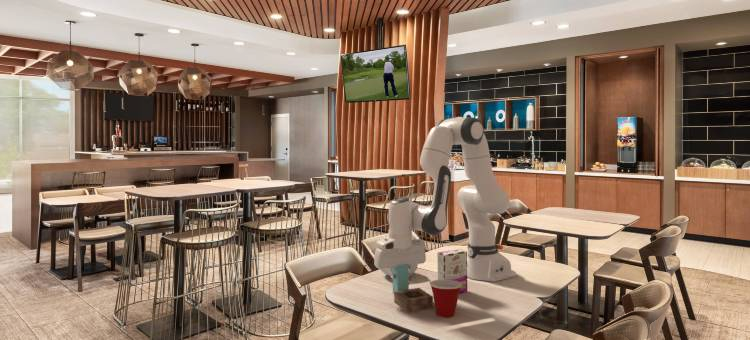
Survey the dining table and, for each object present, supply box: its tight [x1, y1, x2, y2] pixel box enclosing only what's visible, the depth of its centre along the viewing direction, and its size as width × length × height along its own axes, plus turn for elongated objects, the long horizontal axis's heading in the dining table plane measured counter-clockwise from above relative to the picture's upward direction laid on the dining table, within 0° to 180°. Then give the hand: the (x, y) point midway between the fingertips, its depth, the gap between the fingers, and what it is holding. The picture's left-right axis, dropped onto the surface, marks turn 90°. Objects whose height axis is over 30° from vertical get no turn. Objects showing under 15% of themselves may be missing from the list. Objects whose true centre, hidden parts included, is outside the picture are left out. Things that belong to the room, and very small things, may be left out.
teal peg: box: [392, 264, 410, 295], centre depth 175 cm, size 4×4×12 cm
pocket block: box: [393, 287, 434, 313], centre depth 166 cm, size 10×10×5 cm
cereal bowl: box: [380, 264, 419, 278], centre depth 202 cm, size 17×17×7 cm
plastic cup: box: [429, 279, 462, 319], centre depth 157 cm, size 11×11×12 cm
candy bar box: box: [436, 248, 468, 294], centre depth 180 cm, size 11×5×16 cm, turn 117°
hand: (400, 277), depth 175 cm, fingers closed on teal peg, 4 cm apart
